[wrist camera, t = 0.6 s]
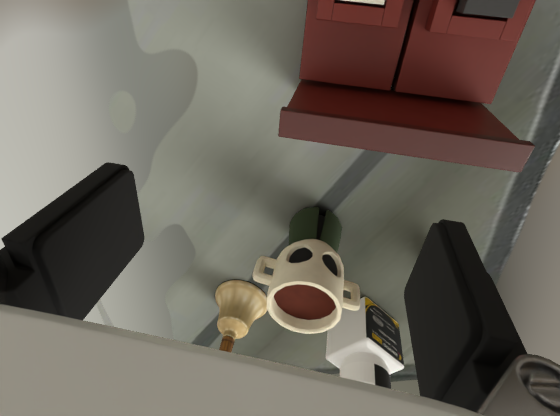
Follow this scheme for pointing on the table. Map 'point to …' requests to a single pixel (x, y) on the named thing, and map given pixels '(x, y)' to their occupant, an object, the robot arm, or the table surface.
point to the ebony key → (488, 7)
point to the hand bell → (238, 310)
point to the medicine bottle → (366, 345)
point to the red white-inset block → (353, 42)
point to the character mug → (308, 276)
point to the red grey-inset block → (457, 51)
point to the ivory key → (369, 1)
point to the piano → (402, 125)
